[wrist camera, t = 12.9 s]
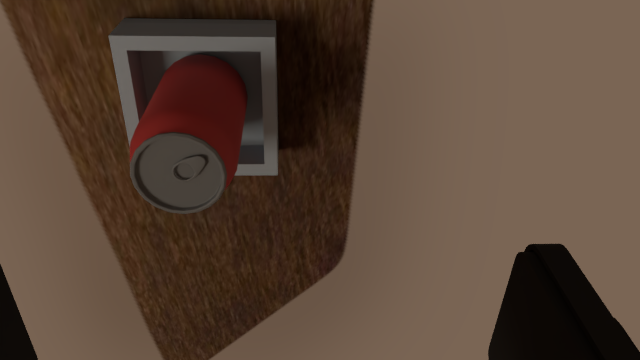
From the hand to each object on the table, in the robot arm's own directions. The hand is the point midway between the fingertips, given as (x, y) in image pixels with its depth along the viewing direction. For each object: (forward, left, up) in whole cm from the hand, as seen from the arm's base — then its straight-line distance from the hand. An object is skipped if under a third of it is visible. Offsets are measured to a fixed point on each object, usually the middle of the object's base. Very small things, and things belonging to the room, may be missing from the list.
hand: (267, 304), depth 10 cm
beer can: (+9, -6, -32) cm, 33 cm away
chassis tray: (+10, -6, -32) cm, 34 cm away
